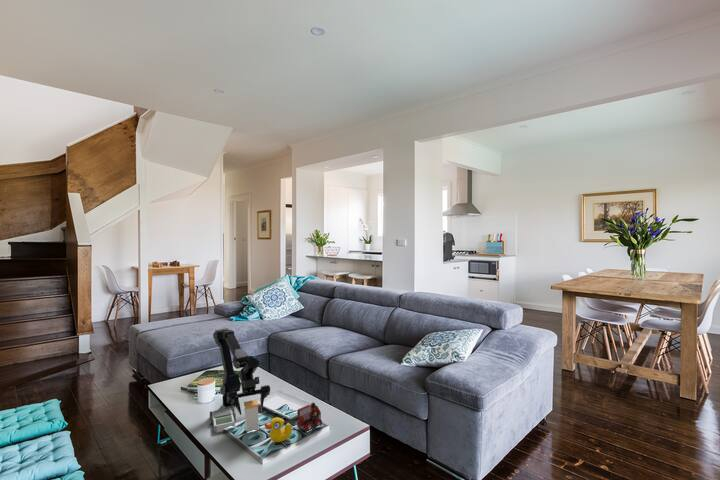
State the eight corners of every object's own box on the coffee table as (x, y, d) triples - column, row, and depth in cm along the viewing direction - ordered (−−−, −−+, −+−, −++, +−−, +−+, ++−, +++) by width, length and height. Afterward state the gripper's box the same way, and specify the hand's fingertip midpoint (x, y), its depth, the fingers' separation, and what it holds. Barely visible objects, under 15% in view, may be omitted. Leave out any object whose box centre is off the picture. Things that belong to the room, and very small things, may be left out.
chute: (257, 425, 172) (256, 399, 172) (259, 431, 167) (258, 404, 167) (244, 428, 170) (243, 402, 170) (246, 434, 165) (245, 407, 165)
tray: (290, 425, 173) (289, 417, 173) (250, 406, 193) (250, 399, 193) (317, 411, 186) (316, 404, 186) (277, 395, 206) (277, 388, 206)
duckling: (266, 448, 154) (265, 423, 154) (263, 441, 159) (263, 418, 159) (293, 441, 159) (292, 417, 159) (290, 435, 164) (289, 412, 163)
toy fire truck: (325, 425, 172) (324, 402, 171) (303, 435, 163) (302, 412, 163) (315, 420, 176) (315, 398, 176) (294, 430, 168) (293, 407, 168)
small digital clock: (233, 412, 186) (233, 405, 186) (237, 427, 171) (237, 420, 171) (209, 417, 182) (209, 410, 182) (211, 433, 166) (211, 426, 166)
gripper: (227, 374, 170) (230, 409, 160) (269, 367, 177) (274, 400, 167) (226, 386, 177) (229, 419, 167) (266, 379, 185) (271, 410, 175)
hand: (251, 412), depth 169 cm, fingers open, 9 cm apart
